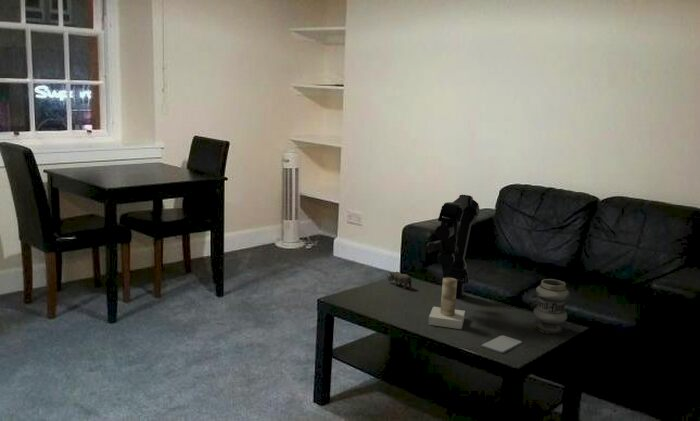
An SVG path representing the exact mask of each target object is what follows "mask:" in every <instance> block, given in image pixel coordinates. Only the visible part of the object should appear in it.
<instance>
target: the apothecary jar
mask: <svg viewBox="0 0 700 421" xmlns="http://www.w3.org/2000/svg"><path fill="white" fill-rule="evenodd" d="M566 285H567V284H566V282H565V281H562V280H558V279H555V278H554V279H553V278H545V279H542V280H541V281H540V284H539V285H537V287H536V289H535V295H537V305H536V307H534V309H533V310H532V311H533V312H532V314H533V316H534V318H535V319H536V320H537V321H539V322H538V323H536V324H535V325H534V329H536V330H538V332H541V333H544V332H545V333H544V334H549V333H559V332H561V333H563V329H562V327H561V326H559V325H561V324H563V323H565V321H567V319H568V314H567V311H566V309H565V307H566V300H567V299H568V298H570V291H569V289H567V288H566V287H567V286H566ZM559 334H560V333H559Z"/></svg>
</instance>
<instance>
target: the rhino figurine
mask: <svg viewBox="0 0 700 421" xmlns="http://www.w3.org/2000/svg"><path fill="white" fill-rule="evenodd" d="M388 272H389V275H386V277H387V279H388V282H391V281H392V282H393V281H394V283H395V284H394V285H393V286H395V287H398V286H403V287H402V290H407V287H408V286H409V287H408V290H413V288H412V277H411V276H410V275H409V274H406V273H401V272H400V271H392V272H391V271H388ZM398 283H399V284H398ZM403 284H404V285H403Z"/></svg>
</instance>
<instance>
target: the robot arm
mask: <svg viewBox="0 0 700 421" xmlns="http://www.w3.org/2000/svg"><path fill="white" fill-rule="evenodd" d="M479 215H480V205H479V203H478V202H477V201H476V200H474V197H473V195H472V196H471V195H469V194H468V195H467V194H459V196H458V198H456V199H455V200H453V202H444V204H443V205H442V206H441V209H440V212H439V216H438V219H437V221H438V222H439V223H440V225H438V226H437V227H436V228H435V230H434V235H435V237H436V238H437V240H435V241H429V242H427V243H426V250H427V253H428V254H430V253H433V252H436V251H439V253H438V254H437V259H436V261H437V262H438V263H439V264H440V265H441V271H442V277H443V278H454V279H457V289H456V299H460V298H463V297H466V296H467V294H466V293H464V285H467V284H469V281H470V276H469V272H468V265H467V262H466V260H465V258H466V256H467V254H466V253H467V248H468V243H469V239H470V235H471V228H472V226H473V224H475V223H476V221H477V218H478V216H479ZM459 223H460V224H459Z"/></svg>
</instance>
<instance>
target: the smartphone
mask: <svg viewBox="0 0 700 421" xmlns="http://www.w3.org/2000/svg"><path fill="white" fill-rule="evenodd" d="M522 344H523V341H522V340H519V339H516V338H512V337H510V336H507V335H501V334H500V335H499V336H496V337H495V338H493V339H490V340H489V341H487V342H484V343H483V344H481V345H480V346H481V348H483V349H487V350H489V351H491V352H492V351H493V352H495V353H498V354H501V355H503V354H505V353H507V352H509V351H510V350H513V349H514V348H516V347H518V346H519V345H522Z"/></svg>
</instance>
